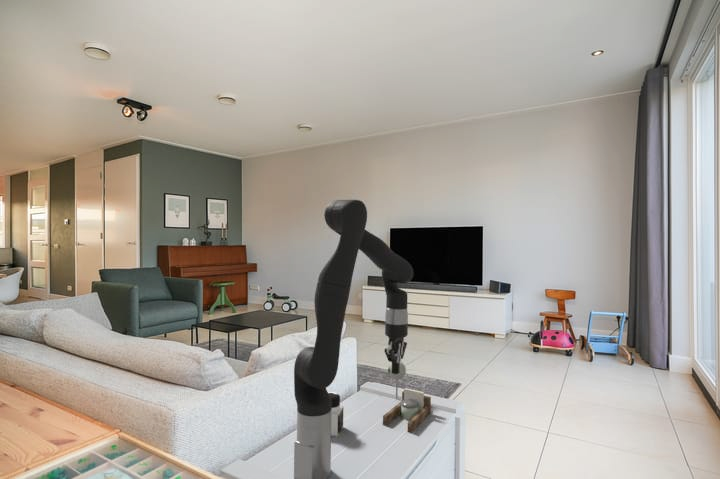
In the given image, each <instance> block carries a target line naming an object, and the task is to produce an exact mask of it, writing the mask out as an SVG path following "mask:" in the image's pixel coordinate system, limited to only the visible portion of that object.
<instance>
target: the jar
mask: <svg viewBox="0 0 720 479" xmlns="http://www.w3.org/2000/svg"><path fill="white" fill-rule="evenodd" d="M400 402H401V413H400V417H401V419H402V420H405V421H408V422H409V421H410V420H411V419H412V418H413V417H414V416H415V415H416V414H417V413H418V402H417V401H415V400H410V399H407V400H403V401H402V400H401V401H400Z"/></svg>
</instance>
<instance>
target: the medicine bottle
mask: <svg viewBox="0 0 720 479" xmlns="http://www.w3.org/2000/svg"><path fill="white" fill-rule="evenodd" d="M327 392H328V394H329V395H330V397H331V401H332V414H331V437H337V438H339V435H340V434H341V432H342V430H343V428H344V406H343V405H341V395H340V394H338V393H337V392H334V391H332V392H331V391H327Z"/></svg>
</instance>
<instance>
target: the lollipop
mask: <svg viewBox="0 0 720 479" xmlns="http://www.w3.org/2000/svg"><path fill="white" fill-rule="evenodd" d="M387 372H388V375H389V376H390V377H391V378H392V379H394V380H395V400H398V392H399V391H398V389H399V388H398V385H399V384H398V380H401V379H403V378H404V377H405V375H406V373H407V369H406V366H405V364H404V363H403V362H402V361H401V362H400V372H399V373H398V374H393V373H392V362H390V364H389V365H388V367H387Z"/></svg>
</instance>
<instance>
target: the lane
mask: <svg viewBox="0 0 720 479" xmlns="http://www.w3.org/2000/svg"><path fill="white" fill-rule="evenodd" d="M403 400H404V390H403V391H402V392H401V401H403ZM401 401H400V402H399V403H397V404H396V405H395V406H394V407H392V408H391V409H390V410H389V411H387V412H386V413H385V414H384V415H382V425H383V426H385V427H386V426H387V425H389V424H390V423H392V421H393V420H394V419H396V418H397V417H398V416H399V415H401ZM431 402H432V397H431V396H428V395H424V408H423V409H422V410H421V411H420V412H419V413H417V414H416V415H415V416H414V417H413V418H412V419H411V420H410V421H409V420H408V422H407V433H410V434H412V432H413V431H414V430H416V428H417V427H418V426H419V425H420V424H421V423H422V422H423V421H424V420H425V419H426V418H427V417H428V416H430V415H431V413H432V410H431V407H432V406H431V405H432V404H431Z"/></svg>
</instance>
